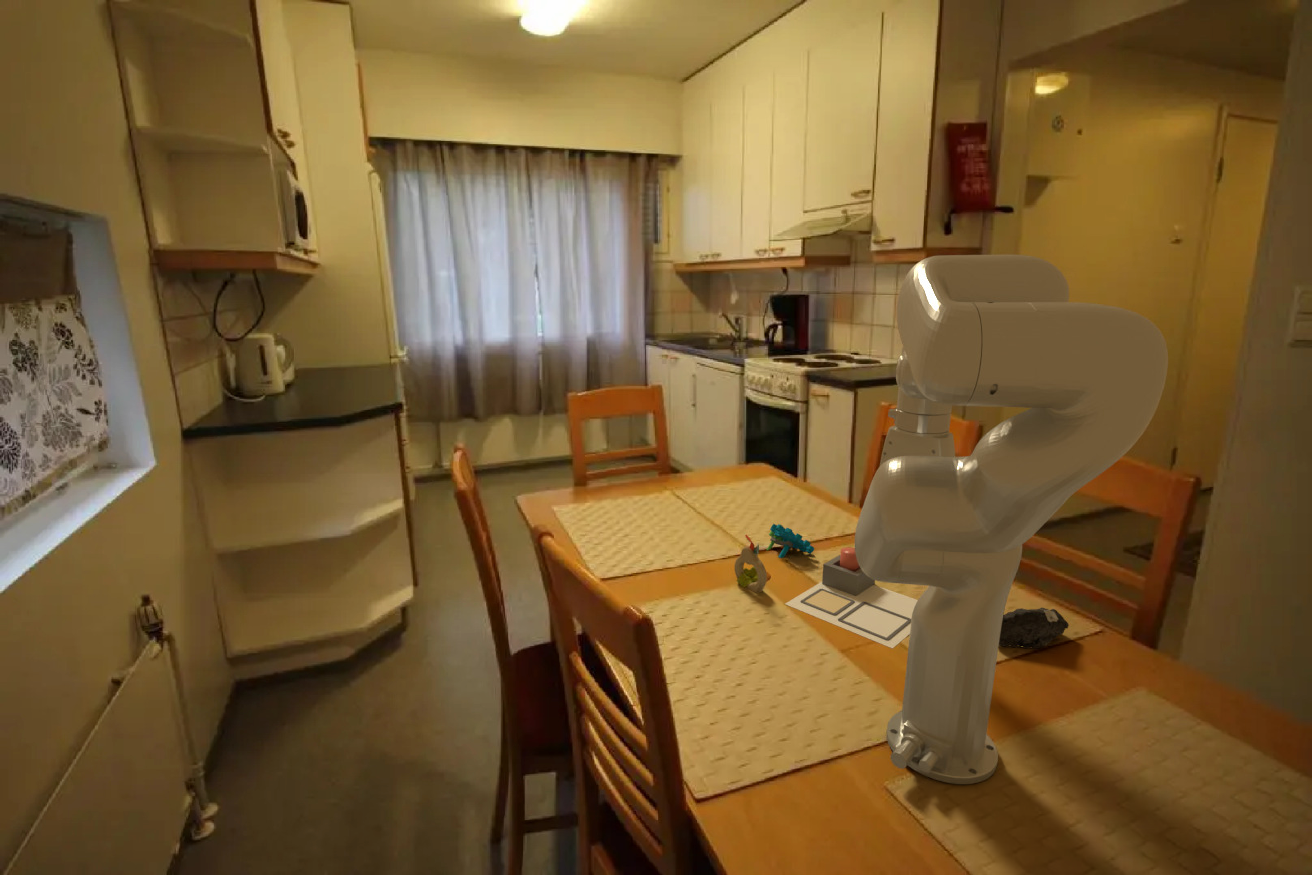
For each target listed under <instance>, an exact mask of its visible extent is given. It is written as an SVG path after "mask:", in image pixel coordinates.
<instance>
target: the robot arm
mask: <svg viewBox="0 0 1312 875" xmlns="http://www.w3.org/2000/svg"><path fill="white" fill-rule="evenodd" d="M1069 301H1070V287H1069V283H1068V280H1067V279H1066V276H1065V275H1064V274H1063V272H1062V271H1061V270H1060V269H1059V268H1058V267H1057V266H1056V265H1054V264H1053V263H1051V262H1050V261H1049V260H1046V259H1043V258H1041V257H1037V256H1032V255H1026V254H1025V255H1024V254H955V255H954V254H953V255H952V254H950V255H949V254H947V255H932V256H928V257H926V258H924V259H922V260H920V261H919V262H917V263H916V264H915V265H913V267H912V268H911V269H910V270H909V271H908V272H907V274H906V276H905V278H904V279H903V281H902V283H901V285H900V288H899V292H898V297H897V301H896V302H897V303H896V323H897V330H898V333H899V338H900V341H901V344H902V349H901V355H900V356H898V359H897V364H896V368H895V374H896V375H895V379H896V380H895V381H896V384H897V386H898V389H897V401H896V407H895V408H890V409H888V411H887V414H888V415H887V416H888V417H889V418H892V419H893V420H894V421H893V422H894V423H893V424H894V425H892V426H889V428H888V429H887V430H888V431H887V433H886V436H885V440H884V444H883V447H882V448H883V449H882V452H881V457H880V463H879V467H878V468H877V470H876V471H875V473H874V476H873V478H872V480H871V482H870V486H869V488H868V492H867V494H866V497H865V499H864V502H863V506H862V508H861V511H860V514H859V516H858V520H857V523H856V528H855V534H854V548H855V554H856V559H857V562H858V564H859V566H860V568H861V570H862V571H863V572H864V573H865V574H866V575H867V576H868V577H869V578H871V579H873V580H875V582H881V583H888V584H900V585H901V584H903V585H914V586H916V585H917V586H928V587H927V588H926V589H925V590H924V592H923V593H922V594H921V595H920V597H919V598H918V599H917V600H918V601H917V603H916V605H915V607H914V610H913V613H912V618H911V627H910V634H909V638H908V649H907V657H906V669H905V678H904V688H903V689H904V690H903V698H902V706H901V707H902V710H900V711H898V712H896V713H894V714H893V715H892V717H890V719H889V721H888V722H887V727H886V740H887V743H888V746H889V748H890V749H891V751H892V753H891V754H890V761H891V763H892V764H893V765H894V766H895V767H896V768H898V769H905V768H906V767H909V768H910V769H912V770H914V771H915V772H916V773H919V774H921V775H923V776H925V777H927V778H930V779H932V780H935V781H939V782H943V783H947V784H952V785H953V784H954V785H970V784H977V783H980V782H983V781H986V780H988V779H989V778H990V777H992V775H994V773H995V771H996V770H997V766H998V762H999V752H998V749H997V746H996V744H995V743H994V741H993V740H992V738H991V737H990V736H989V734H987V732H988V727H989V726H988V724H989V718H990V711H991V703H992V695H993V689H994V687H993V686H994V681H995V674H996V666H997V659H998V653H999V646H1000V645H999V639H1000V633H1001V626H1002V620H1003V615H1005V610H1006V605H1007V602H1008V597H1009V594H1010V591H1011V588H1012V586H1013V584H1014V583H1013V582H1014V581H1015V578H1016V574H1017V572H1018V570H1019V567H1020V563H1021V559H1022V553H1023V544H1024V543H1026V542H1027V541H1029V540H1030V539H1031V538H1032V537H1033V536H1034V535H1035V534H1036V533H1037V532H1038V531H1039V530H1040V529H1041V528H1042V527H1043V526H1044V525H1045V524H1046V523H1047V522H1048V521H1049V519H1051V518H1052V517H1053V516H1054V514H1056V513H1057V512H1058V510H1059V509H1060V508H1061V507H1062V506H1063V505H1064V504H1065V503H1066V501H1067V500H1068V499H1070V498H1071V497H1072V495H1074V494H1075V493H1076V492H1077V491H1078V490H1080V489H1082V488H1083V487H1084V486H1086V485H1088V483H1089V482H1091V481H1093V480H1094V479H1096V478H1097V477H1098V476H1100V475H1101V474H1102V473H1104V472H1105V471H1107V469H1109V468H1110V467H1112V466H1113V465H1114V464H1115V463H1116V462H1118V461H1120V459H1121V458H1122V457H1124V455H1126V454H1127V452H1129V451H1130V450H1131V448H1132V447H1133V446H1135V444H1136V443H1137V441H1138V440H1139V439H1140V438H1141V437H1142V436H1143V434H1144V433H1145V431H1146V429H1147V428H1148V426H1149V424H1150V422H1151V421H1152V419H1153V417H1154V415H1155V414H1156V411H1157V409H1158V406H1159V403H1160V400H1161V398H1162V395H1163V391H1164V388H1165V386H1166V379H1167V373H1168V368H1169V355H1168V354H1169V352H1168V347H1167V344H1166V339H1165V337H1164V335H1163V333H1162V331H1161V330H1160V328H1159V326H1157V325H1155V323H1154V322H1152V320H1150V319H1149V318H1147V317H1146V316H1144V315H1141V314H1140V313H1138V312H1136V311H1132V310H1129V309H1126V308H1123V307H1120V306H1113V305H1112V306H1111V305H1106V304H1099V303H1092V302H1076V301H1075V302H1071V301H1070V302H1069ZM953 406H961V407H992V408H993V407H997V408H999V407H1001V408H1023V409H1024V408H1028V409H1027V410H1024V411H1022V412H1019V413H1017V414H1015V415H1012V416H1011V417H1009V418H1008V419H1005V420H1003V421H1001V422H1000V423H998V424H997V425H996V426H995V427H993V428H992V429H990V430H989V431H988V432H987V433H986V434H984V435H983V436H982V437H981V439H980V440H979V441H978V442H977V444H976V445H975V447H974V449H973V451H972V453H971V454H970V455H968V456H967V455H966V456H956V450H955V449H956V448H955V441H954V434H953V433H952V432H950V425H951V418H952V409H953V408H952V407H953Z"/></svg>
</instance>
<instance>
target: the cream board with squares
mask: <svg viewBox="0 0 1312 875" xmlns="http://www.w3.org/2000/svg"><path fill="white" fill-rule="evenodd" d="M917 601H918V599H916V598H912V597H911V596H907V595H904V594H902V593H899V592H897V591H892V590H890V589H887V588H884V587H882V586H879V585H876V584H874V585H872V586H871V587H869V588H868V589H866V590H865V591H863V592H862V593H860V594H859V595H857V596H854V595H851V594H848V593H846V592H843V591H840V590H838V589H835V588H832V587H829V586H827V585H824V584H822V581H820V582H819V583H817V584H815V585H813V586H812V587H810V588H809V589H807V590H806V591H804V592H802V593H801V594H799V595H797V596H795V597H794V598H792V599H791V600H789V601H787V602H786V603H784V605H785V606H788V607H791V608H793V609H796V610H798V611H801V612H803V613H805V614H807V615H810V616H811V617H815V618H817V619H820V620H822V621H824V622H827V623H830V624H831V625H834V626H836V627H838V628H842V629H843V630H846V631H848V632H851V633H854V634H856V635H859V636H861V637H863V638H866V639H868V640H870V641H872V642H876V643H877V644H879V645H883V646H885V647H887V648H890V649H892V650H893V649H894V648H895V647H896V646H898V645H899V644H900V643H901V642H902V641H903V640H905V639H906V638H907V637H908V636H910V627H911V618H912V613H913V610H914V607H915V605H916V603H917Z"/></svg>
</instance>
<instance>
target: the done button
mask: <svg viewBox="0 0 1312 875" xmlns="http://www.w3.org/2000/svg"><path fill="white" fill-rule="evenodd" d="M839 555H840V567H842V568H845V569H848V570H851V571H854V572H855V571H857V570H859V569H860V566H859V564H858V562H857V559H856V554H855V547H850V546H849V547H842V548H841V549H840V554H839Z"/></svg>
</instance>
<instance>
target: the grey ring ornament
mask: <svg viewBox="0 0 1312 875" xmlns="http://www.w3.org/2000/svg"><path fill="white" fill-rule="evenodd" d="M744 537H745V538H746V540H747V541H748V542H749V543H750V545H745V546H744V547H743V548H742V549H741V550H740V551H741V552H740V556H738V557H737V558H736V560H735V561H734V573H735V576H736V578H737V580H736V582H737V583H738V584H739V585H740V586H741V587H742V588H744V589H745V588H747V589H749V590H750V591H752V592H755V593H761V592H763V590H764V588H765V586H766V585H767V582H768V581H770V580H771V574H770V573H769V572H768V571H767V570H766V567H765V565H764V563H763V561H761V559H760V558H759V556H758V555H760V547H759V546H760V544H759V543H758V542H757V545H756V546H755V543H754V542H753V541H752V539H751V538H750V537H749V535H748V534H745V535H744ZM745 564H747V565H749V566H750V565H751V566H752V567H751V568H750V569H749V568H747V567H745V568H744V566H745Z"/></svg>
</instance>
